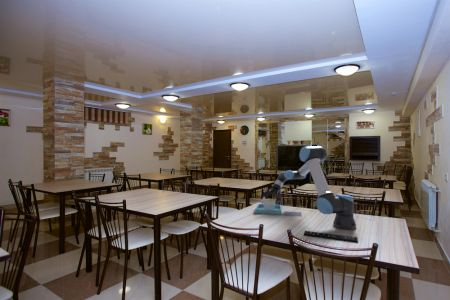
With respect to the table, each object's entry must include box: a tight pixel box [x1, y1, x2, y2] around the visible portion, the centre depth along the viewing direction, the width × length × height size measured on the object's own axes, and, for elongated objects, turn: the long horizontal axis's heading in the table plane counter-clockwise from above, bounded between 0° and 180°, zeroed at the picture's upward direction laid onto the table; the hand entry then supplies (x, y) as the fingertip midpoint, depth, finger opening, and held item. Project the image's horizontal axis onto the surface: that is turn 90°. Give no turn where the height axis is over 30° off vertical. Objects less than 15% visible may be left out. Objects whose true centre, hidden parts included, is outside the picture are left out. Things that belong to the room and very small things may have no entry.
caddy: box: [263, 197, 276, 210], centre depth 229 cm, size 7×7×10 cm
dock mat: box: [284, 211, 303, 217], centre depth 218 cm, size 14×14×1 cm
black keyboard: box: [303, 230, 359, 244], centre depth 163 cm, size 8×32×2 cm, turn 66°
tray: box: [254, 203, 283, 216], centre depth 229 cm, size 22×22×4 cm
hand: (267, 204), depth 227 cm, fingers open, 13 cm apart
